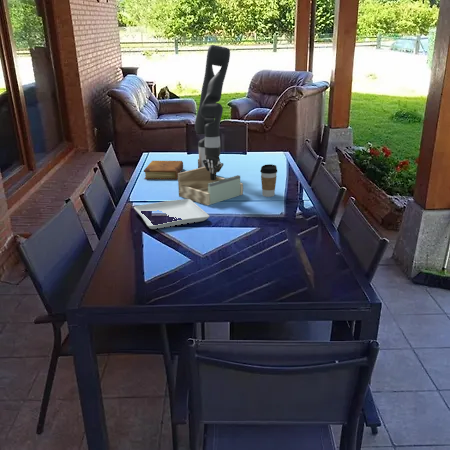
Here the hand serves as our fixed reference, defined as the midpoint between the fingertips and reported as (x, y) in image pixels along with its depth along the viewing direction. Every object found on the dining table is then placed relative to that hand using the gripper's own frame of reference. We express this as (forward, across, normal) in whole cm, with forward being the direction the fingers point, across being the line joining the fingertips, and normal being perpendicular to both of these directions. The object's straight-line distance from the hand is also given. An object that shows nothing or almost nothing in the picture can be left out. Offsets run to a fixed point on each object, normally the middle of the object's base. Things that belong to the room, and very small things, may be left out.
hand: (213, 180), depth 246 cm
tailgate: (+8, +9, 0) cm, 12 cm away
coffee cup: (+9, +19, +20) cm, 29 cm away
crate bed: (+8, -1, 0) cm, 9 cm away
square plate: (+9, +9, -34) cm, 36 cm away
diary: (+9, -53, +10) cm, 54 cm away
